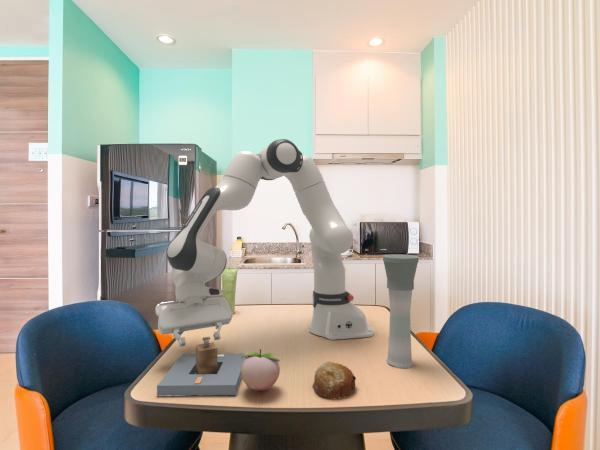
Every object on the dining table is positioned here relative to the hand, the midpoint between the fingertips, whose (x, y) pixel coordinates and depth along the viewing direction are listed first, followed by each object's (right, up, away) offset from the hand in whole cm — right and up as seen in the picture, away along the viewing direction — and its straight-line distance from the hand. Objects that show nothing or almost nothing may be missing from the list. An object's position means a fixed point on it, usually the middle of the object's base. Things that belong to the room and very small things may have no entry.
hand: (200, 342), depth 94 cm
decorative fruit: (+18, -8, -13) cm, 23 cm away
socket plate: (+3, -7, -6) cm, 10 cm away
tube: (-3, -6, +51) cm, 51 cm away
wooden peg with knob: (+3, -7, -6) cm, 10 cm away
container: (+55, -7, +3) cm, 56 cm away
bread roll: (+35, -8, -11) cm, 38 cm away
